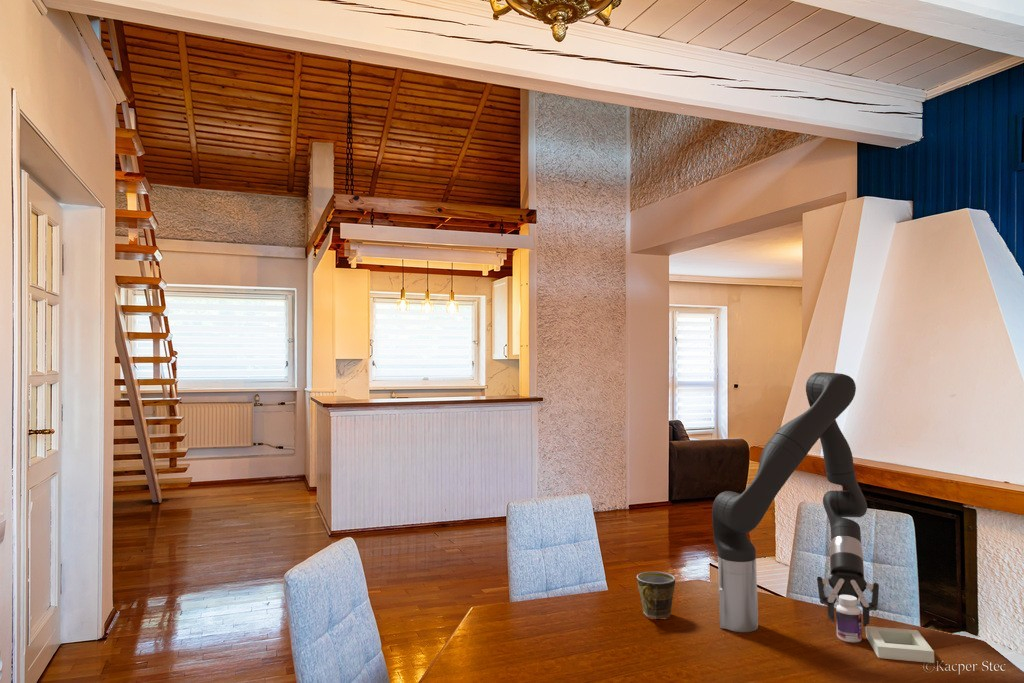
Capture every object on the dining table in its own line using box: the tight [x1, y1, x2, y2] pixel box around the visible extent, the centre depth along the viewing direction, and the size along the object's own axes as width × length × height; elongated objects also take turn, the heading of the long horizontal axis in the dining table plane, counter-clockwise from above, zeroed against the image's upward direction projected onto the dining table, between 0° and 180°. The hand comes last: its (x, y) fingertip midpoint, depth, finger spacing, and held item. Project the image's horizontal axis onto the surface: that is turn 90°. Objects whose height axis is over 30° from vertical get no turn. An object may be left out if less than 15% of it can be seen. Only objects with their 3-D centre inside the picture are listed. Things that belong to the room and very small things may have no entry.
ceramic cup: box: [636, 571, 676, 619], centre depth 175 cm, size 13×10×10 cm
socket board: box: [865, 625, 935, 664], centre depth 153 cm, size 11×12×2 cm
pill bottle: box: [835, 595, 863, 643], centre depth 159 cm, size 5×5×10 cm
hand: (848, 622), depth 158 cm, fingers open, 6 cm apart
